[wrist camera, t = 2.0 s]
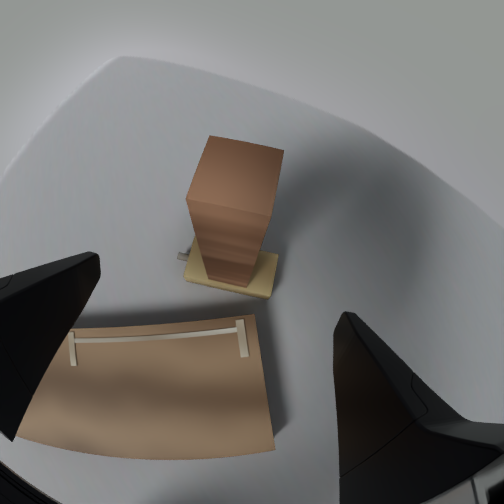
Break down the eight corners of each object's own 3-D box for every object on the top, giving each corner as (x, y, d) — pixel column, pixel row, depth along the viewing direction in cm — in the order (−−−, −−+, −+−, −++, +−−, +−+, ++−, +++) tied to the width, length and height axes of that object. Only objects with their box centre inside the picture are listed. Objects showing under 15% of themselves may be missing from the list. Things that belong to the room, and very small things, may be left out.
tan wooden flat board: (270, 440, 17) (275, 450, 15) (24, 430, 14) (11, 434, 12) (251, 316, 19) (254, 313, 17) (9, 330, 17) (-6, 327, 15)
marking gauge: (267, 299, 20) (325, 236, 8) (174, 278, 20) (110, 190, 8) (275, 260, 21) (332, 158, 9) (185, 240, 21) (145, 123, 9)
